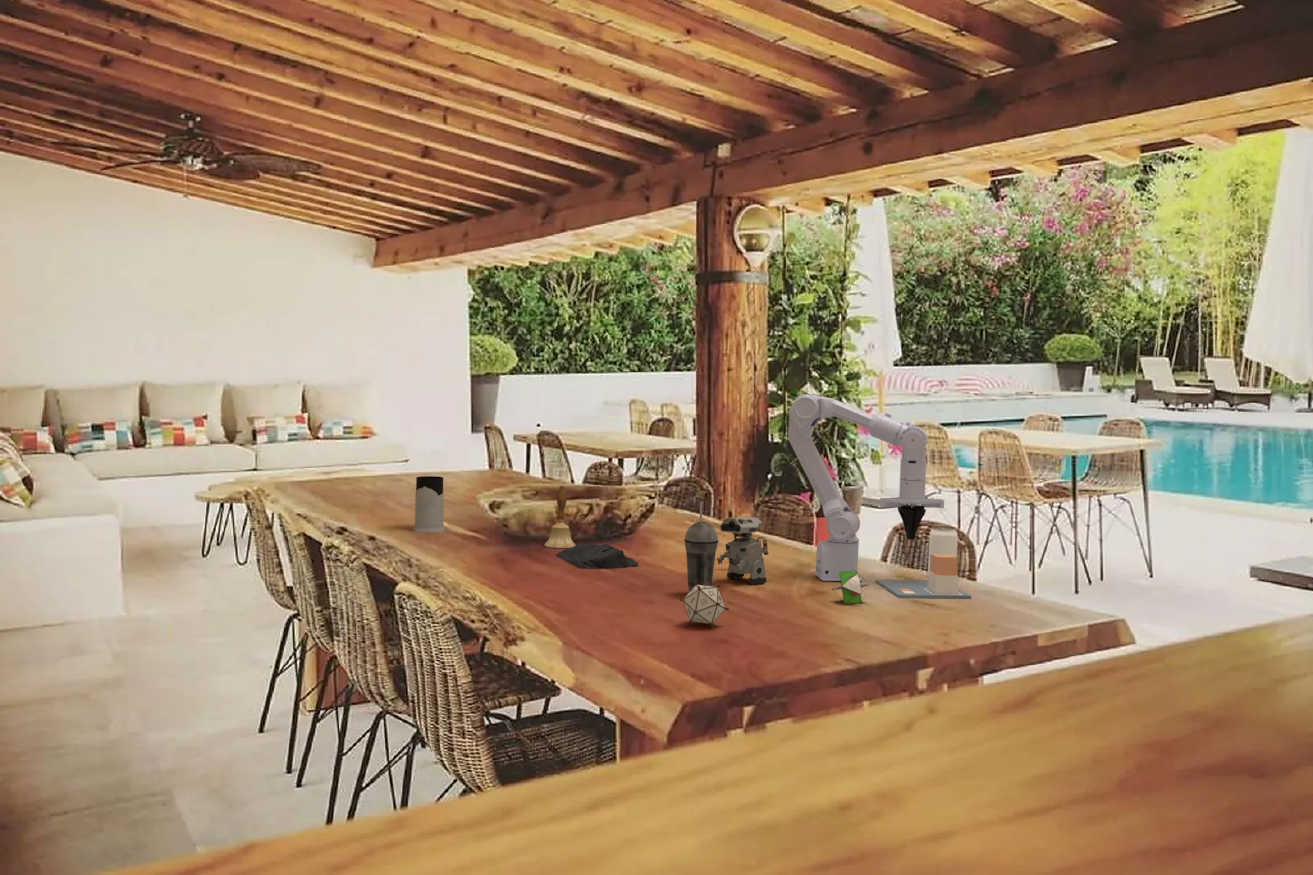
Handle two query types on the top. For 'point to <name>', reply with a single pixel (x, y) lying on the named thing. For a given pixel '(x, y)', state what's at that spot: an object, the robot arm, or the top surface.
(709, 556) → the beverage cup
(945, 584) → the base block
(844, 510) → the robot arm
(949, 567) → the terracotta block
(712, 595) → the game die
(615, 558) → the dark slate chunk
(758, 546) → the figurine
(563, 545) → the hand bell
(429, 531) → the glass holder
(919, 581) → the board
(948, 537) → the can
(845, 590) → the geometric puzzle
